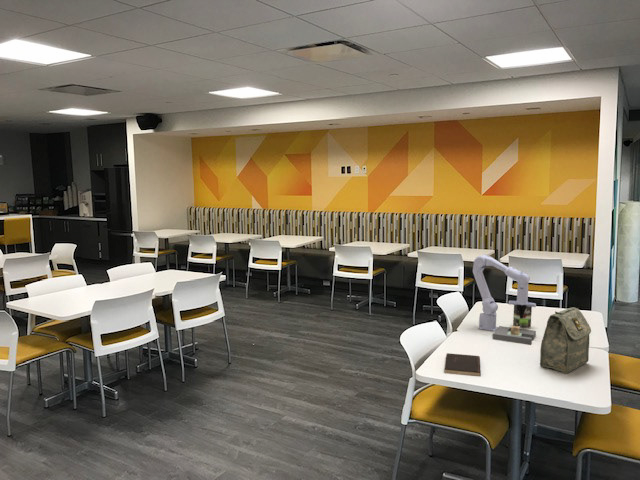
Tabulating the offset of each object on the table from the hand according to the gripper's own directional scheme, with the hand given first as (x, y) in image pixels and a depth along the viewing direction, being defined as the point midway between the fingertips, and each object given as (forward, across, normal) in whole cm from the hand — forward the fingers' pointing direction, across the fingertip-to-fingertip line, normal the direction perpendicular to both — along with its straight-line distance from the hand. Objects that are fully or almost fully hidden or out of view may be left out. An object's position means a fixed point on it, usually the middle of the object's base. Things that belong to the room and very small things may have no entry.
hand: (521, 317), depth 302 cm
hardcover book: (+10, -15, -68) cm, 71 cm away
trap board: (+9, -2, -9) cm, 13 cm away
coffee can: (+10, -2, +16) cm, 19 cm away
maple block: (+6, -1, -12) cm, 14 cm away
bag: (+10, +27, -43) cm, 52 cm away
